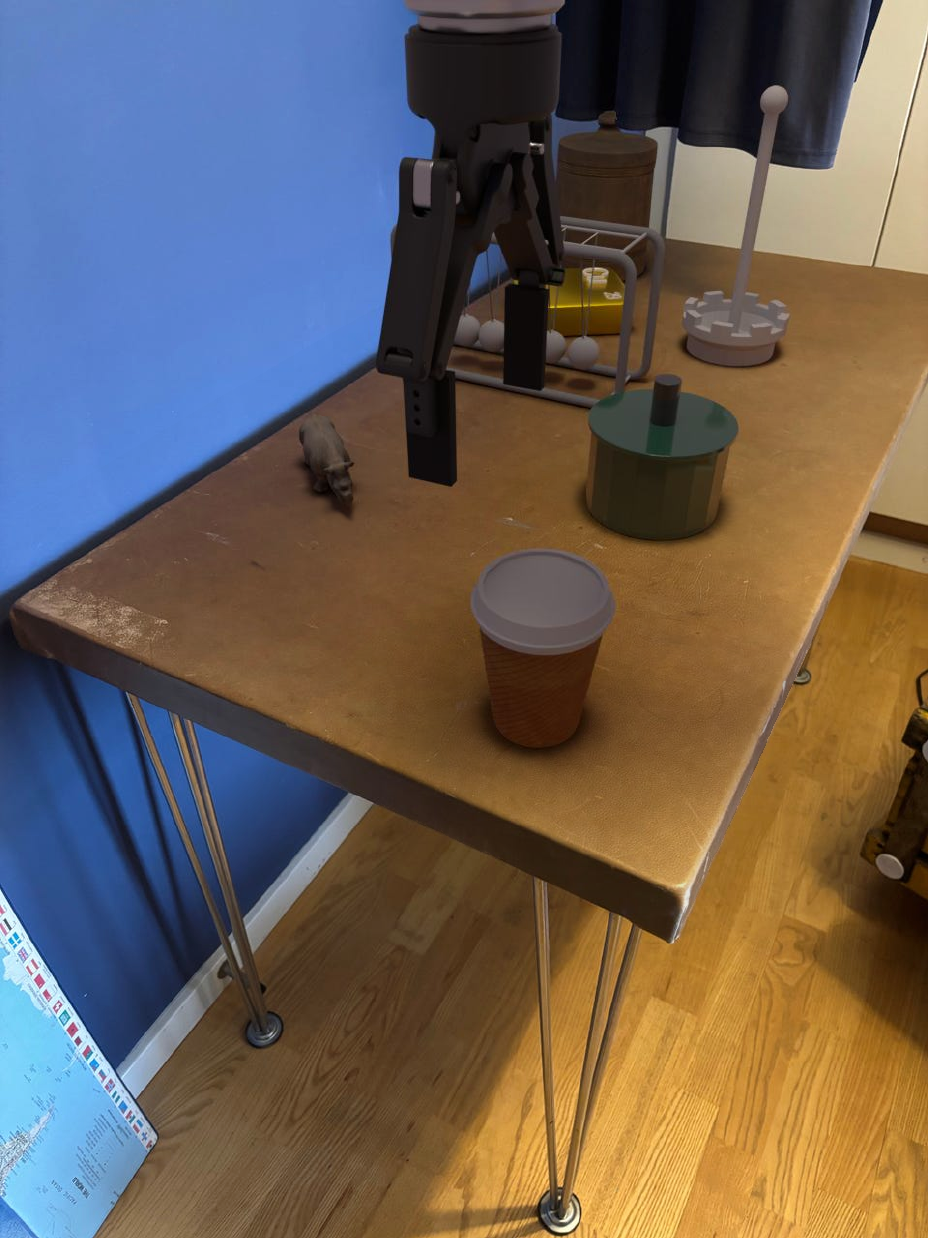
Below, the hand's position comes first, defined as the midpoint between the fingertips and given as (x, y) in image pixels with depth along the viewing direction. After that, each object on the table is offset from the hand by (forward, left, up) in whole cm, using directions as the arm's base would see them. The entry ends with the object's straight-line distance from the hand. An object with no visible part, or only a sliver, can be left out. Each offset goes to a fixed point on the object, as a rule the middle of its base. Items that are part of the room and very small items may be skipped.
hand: (482, 428), depth 56 cm
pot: (+2, -30, -21) cm, 37 cm away
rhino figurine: (+29, -13, -21) cm, 39 cm away
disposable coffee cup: (-6, +1, -21) cm, 22 cm away
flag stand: (+13, -70, -21) cm, 75 cm away
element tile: (+36, -67, -21) cm, 80 cm away
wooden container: (+44, -87, -21) cm, 100 cm away
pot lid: (+2, -30, -13) cm, 33 cm away
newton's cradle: (+30, -47, -21) cm, 60 cm away
